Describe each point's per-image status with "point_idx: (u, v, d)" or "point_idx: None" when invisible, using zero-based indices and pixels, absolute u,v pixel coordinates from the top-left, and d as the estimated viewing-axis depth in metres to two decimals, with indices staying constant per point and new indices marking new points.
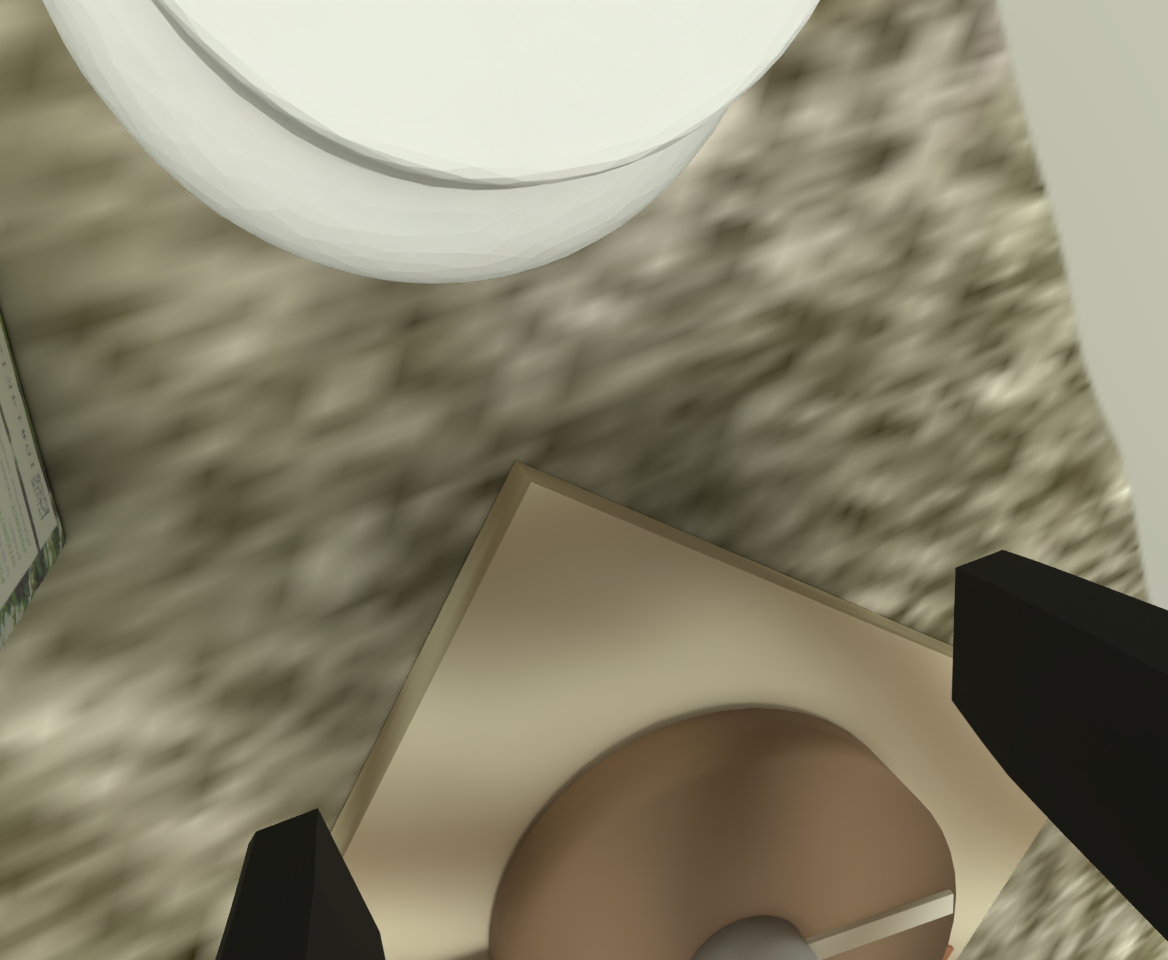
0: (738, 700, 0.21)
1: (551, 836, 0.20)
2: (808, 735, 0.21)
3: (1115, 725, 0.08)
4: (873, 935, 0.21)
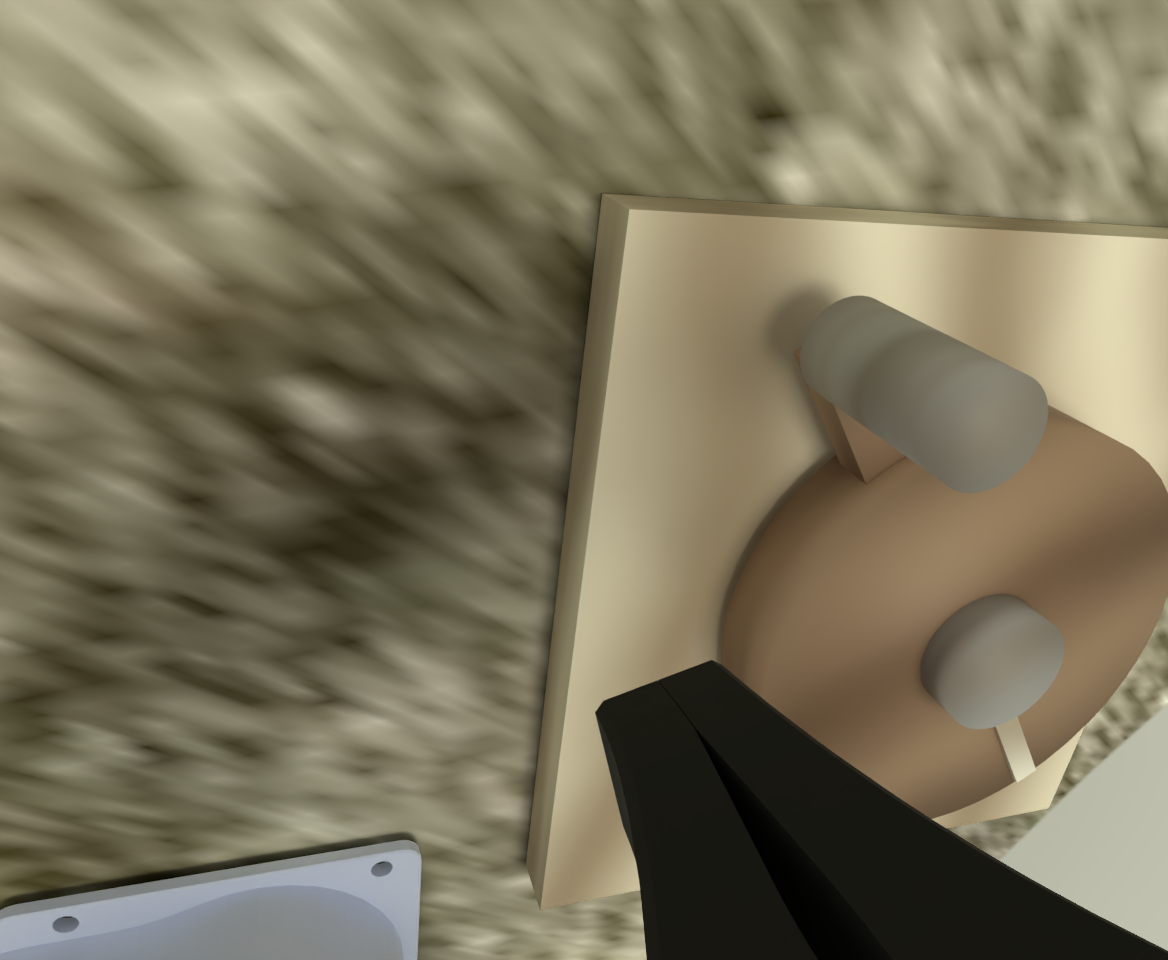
0: None
1: (1055, 411, 0.20)
2: None
3: (771, 872, 0.08)
4: (1005, 733, 0.23)
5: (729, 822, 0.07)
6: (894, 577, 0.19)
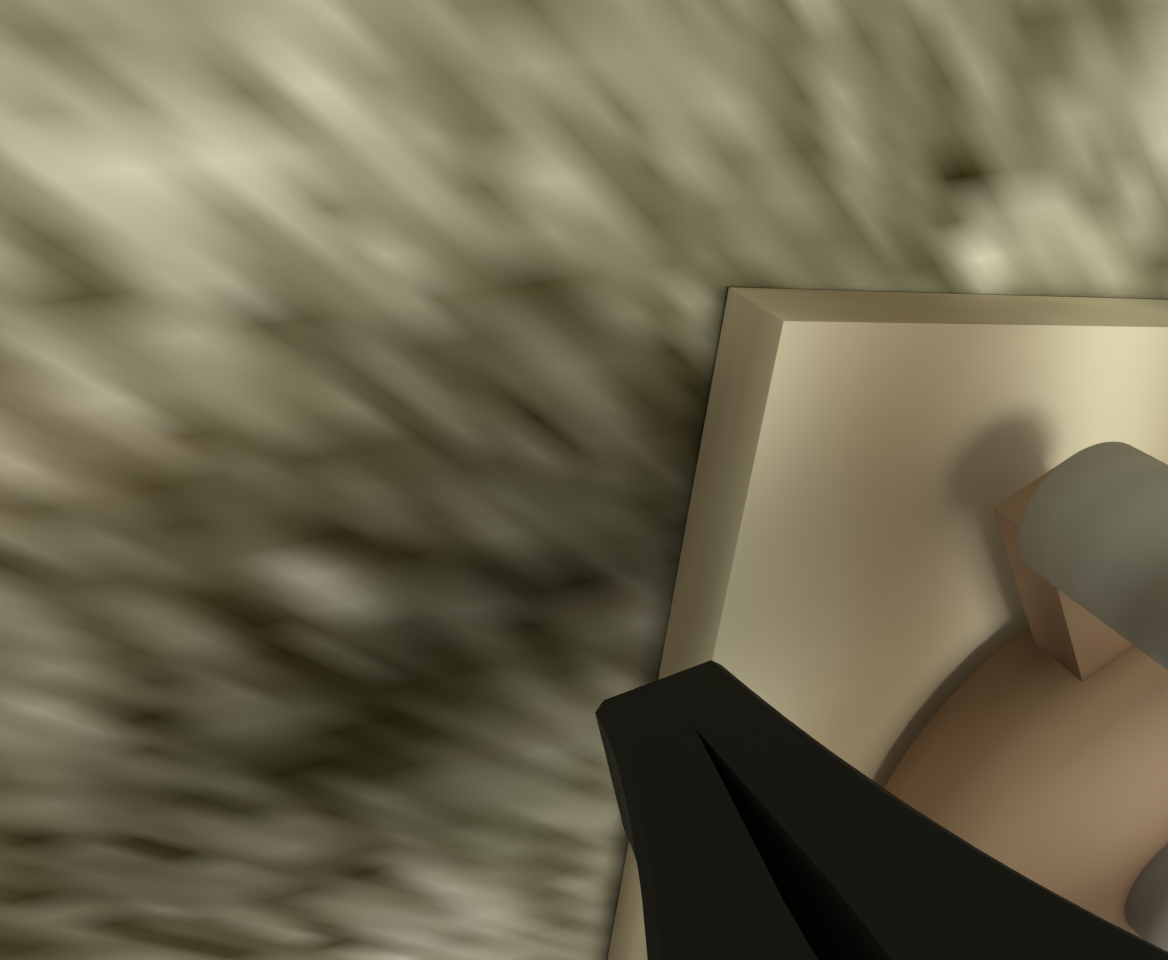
0: None
1: None
2: None
3: (770, 872, 0.08)
4: None
5: (730, 822, 0.07)
6: (1114, 803, 0.14)
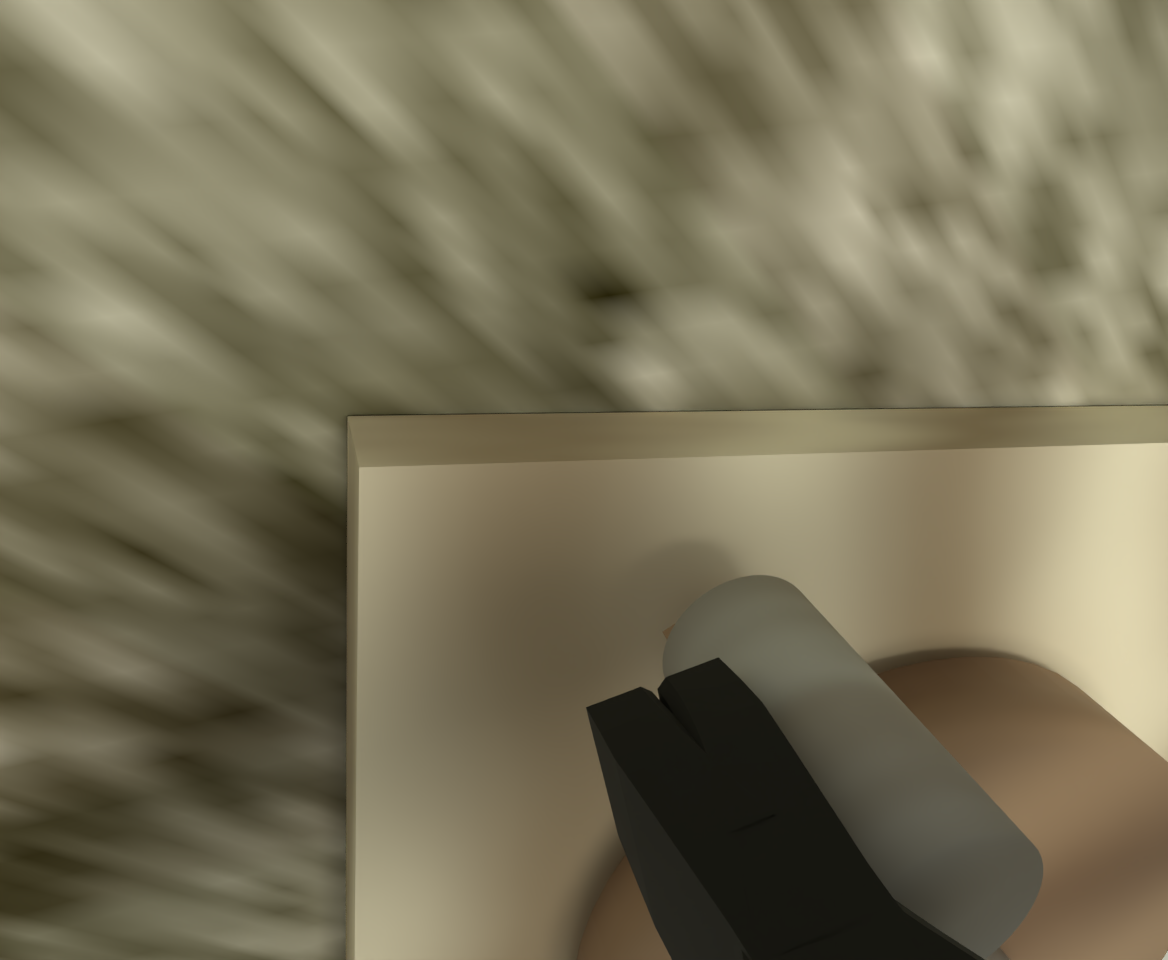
0: None
1: (1046, 688, 0.14)
2: None
3: (685, 909, 0.08)
4: None
5: (806, 790, 0.07)
6: None
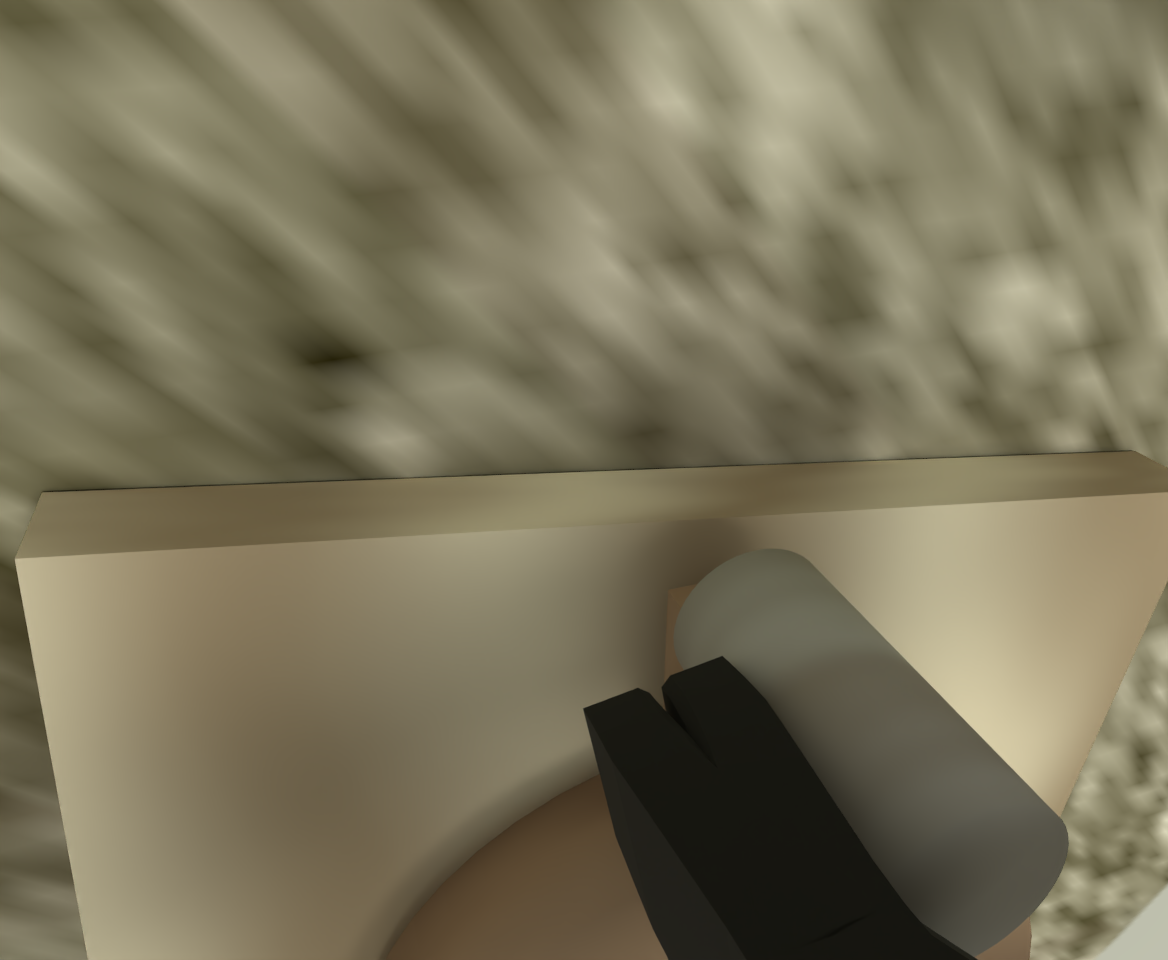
0: None
1: None
2: None
3: (682, 910, 0.08)
4: None
5: (812, 788, 0.07)
6: None
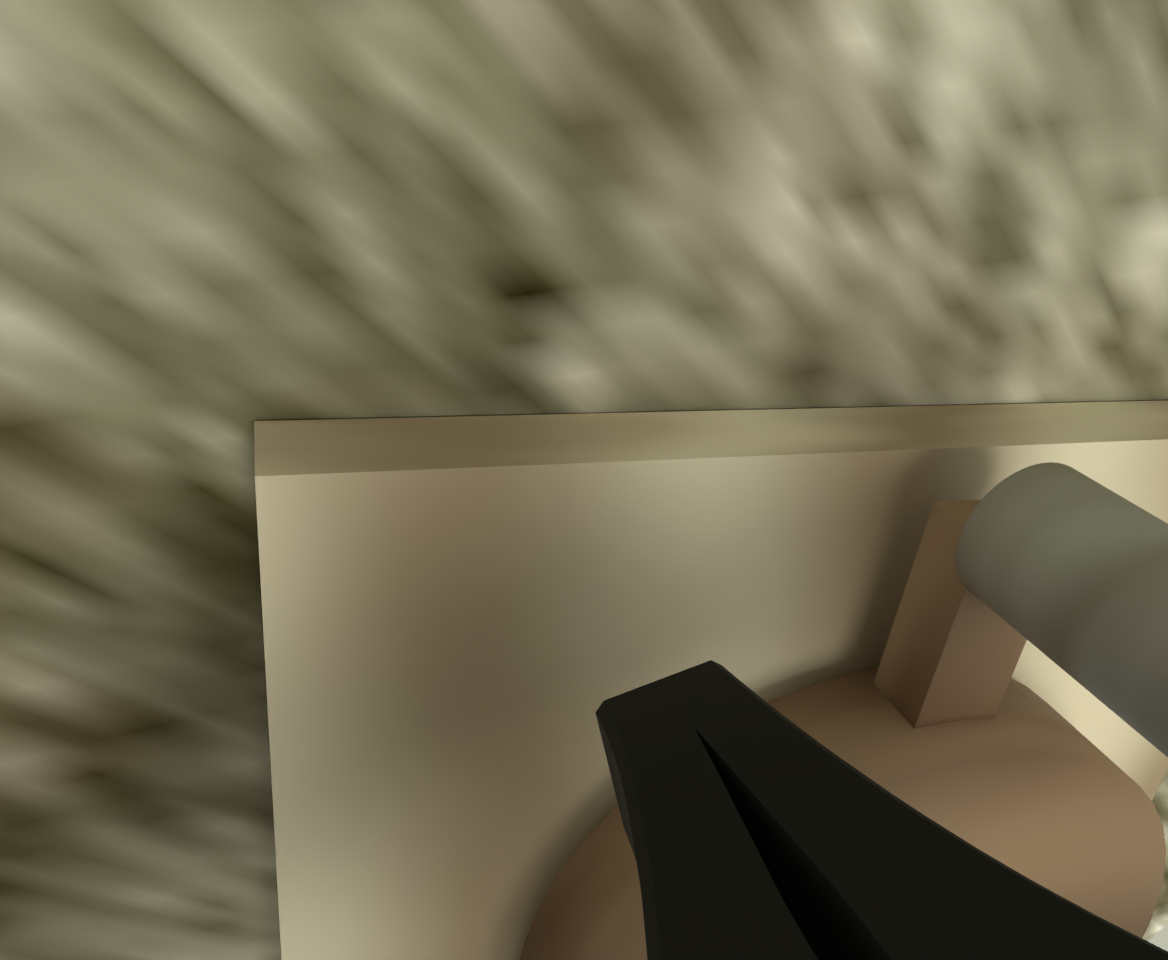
0: None
1: None
2: None
3: (770, 872, 0.08)
4: None
5: (729, 822, 0.07)
6: None
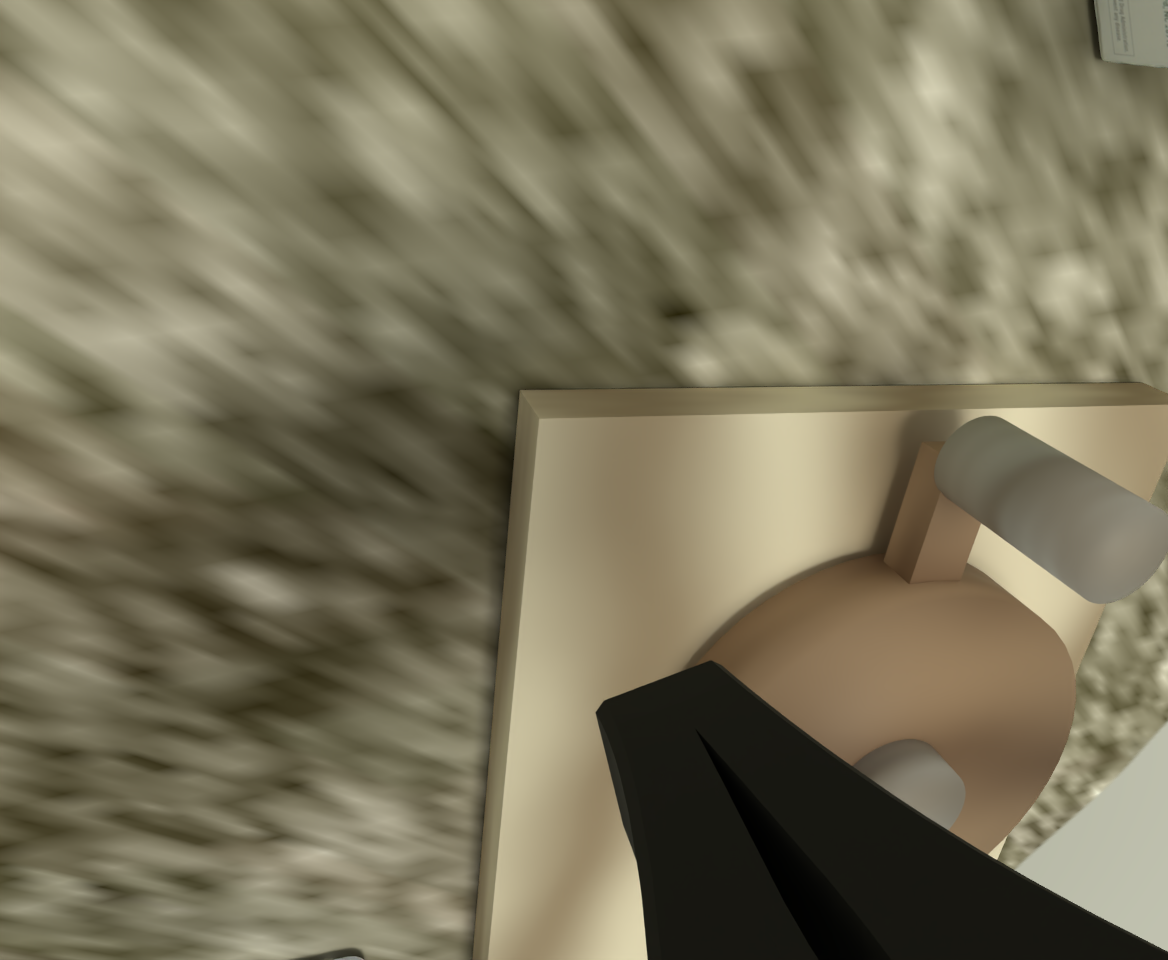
0: None
1: None
2: None
3: (770, 872, 0.08)
4: None
5: (730, 822, 0.07)
6: (886, 676, 0.21)
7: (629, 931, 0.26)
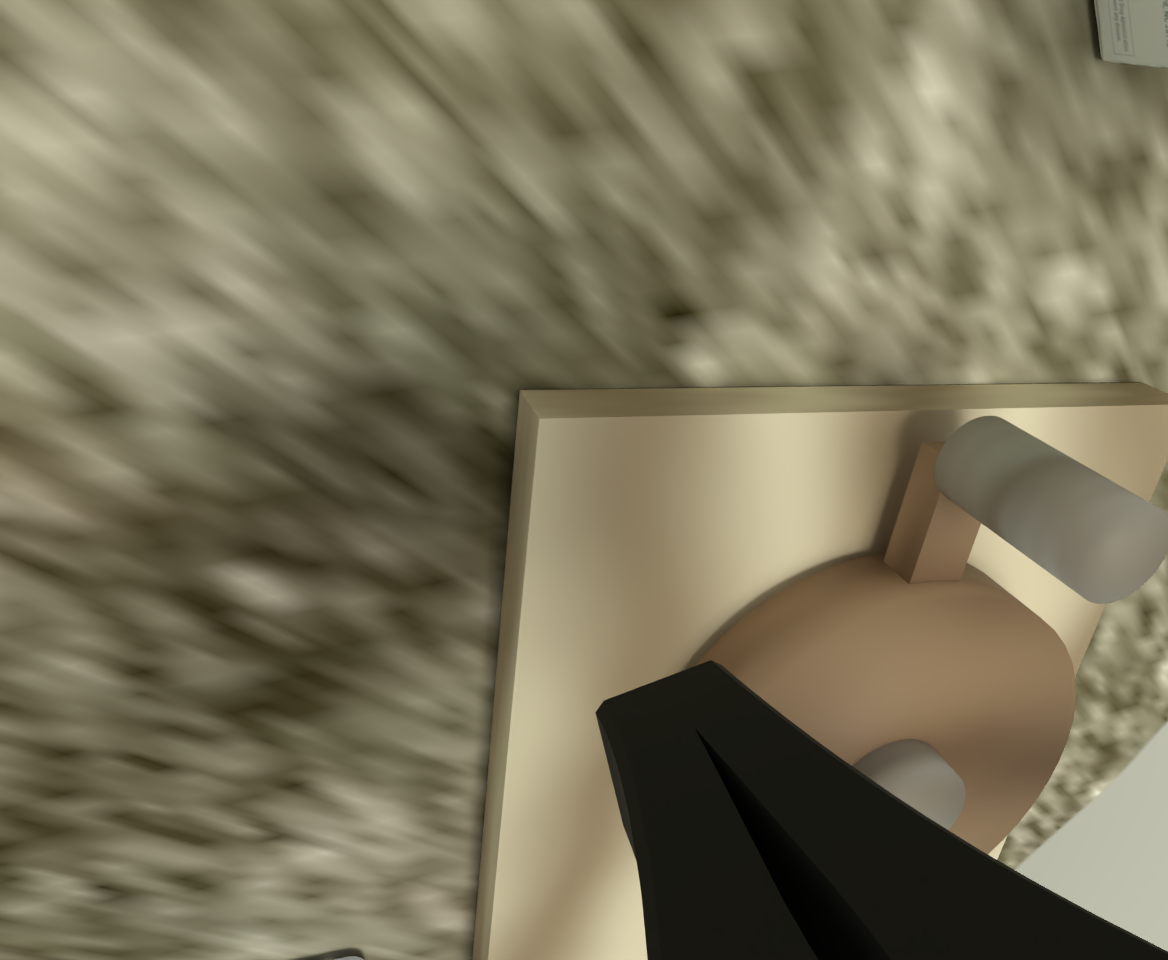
0: None
1: None
2: None
3: (770, 872, 0.08)
4: None
5: (730, 822, 0.07)
6: (886, 676, 0.21)
7: (629, 931, 0.26)
